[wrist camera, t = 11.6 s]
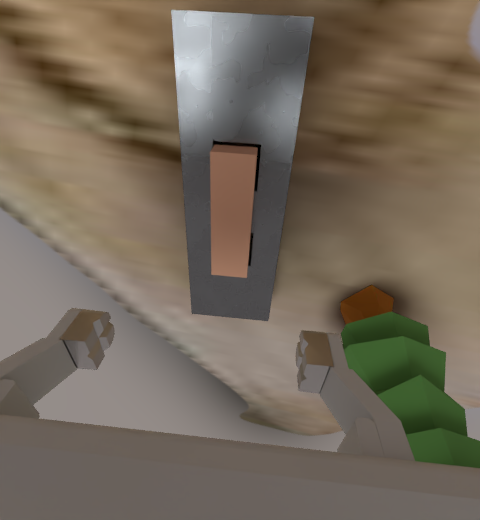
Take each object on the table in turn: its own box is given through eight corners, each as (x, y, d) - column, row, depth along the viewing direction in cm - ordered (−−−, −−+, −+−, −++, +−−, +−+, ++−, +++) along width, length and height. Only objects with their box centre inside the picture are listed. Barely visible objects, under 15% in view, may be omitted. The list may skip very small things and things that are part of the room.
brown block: (222, 133, 23) (209, 151, 18) (259, 135, 23) (256, 154, 18) (221, 238, 29) (211, 274, 24) (250, 241, 29) (246, 277, 24)
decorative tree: (427, 298, 31) (1061, 1230, 6) (372, 347, 36) (595, 960, 11) (350, 265, 29) (781, 1327, 5) (304, 322, 34) (391, 965, 10)
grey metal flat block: (188, 19, 19) (171, 9, 16) (306, 25, 19) (314, 17, 16) (199, 288, 33) (191, 313, 30) (268, 295, 32) (268, 321, 29)
